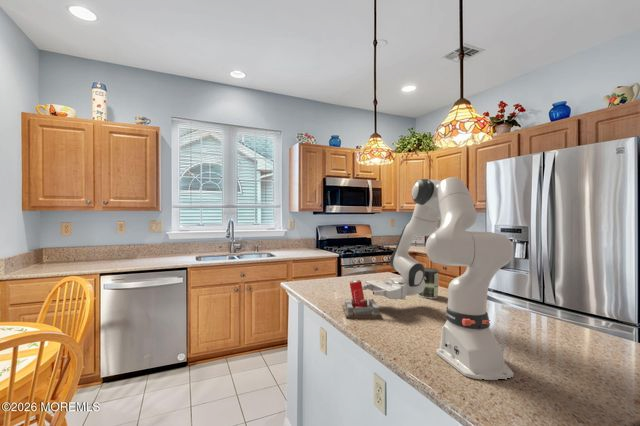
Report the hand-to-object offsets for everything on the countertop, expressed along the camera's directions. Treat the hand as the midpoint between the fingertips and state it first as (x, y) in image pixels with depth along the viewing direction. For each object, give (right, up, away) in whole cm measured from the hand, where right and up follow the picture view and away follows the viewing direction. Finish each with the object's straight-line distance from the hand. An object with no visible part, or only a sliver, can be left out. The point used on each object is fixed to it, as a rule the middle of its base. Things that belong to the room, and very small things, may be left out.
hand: (367, 290), depth 139 cm
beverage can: (-3, -8, 0) cm, 9 cm away
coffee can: (+36, -10, +27) cm, 46 cm away
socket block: (-3, -9, -1) cm, 10 cm away
